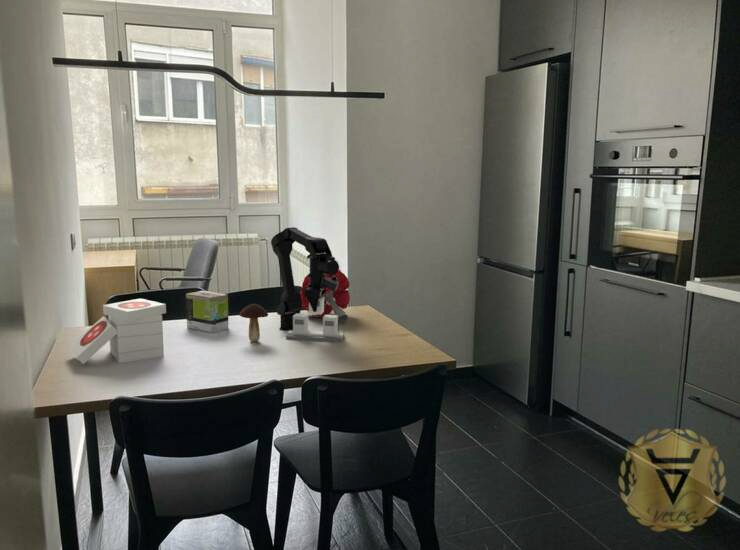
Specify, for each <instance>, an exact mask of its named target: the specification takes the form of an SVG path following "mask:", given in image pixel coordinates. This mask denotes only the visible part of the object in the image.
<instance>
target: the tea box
mask: <svg viewBox="0 0 740 550" xmlns="http://www.w3.org/2000/svg"><path fill="white" fill-rule="evenodd" d="M228 295H229V294H228V293H223V292H222V293H221V292H216V291H215V292H214V291H209V290H199V291H195V292H193V291H192V292H188V293H185V306H186V307H185V310H186V311H185V312H186V313H185V314H186V328H189V329H193V330H198V331H202V332H208V333H212V334H213V333H216V332H219V331H220V332H221V331H223V330H224V331H225V330H226V329H229V296H228Z"/></svg>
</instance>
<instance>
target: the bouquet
mask: <svg viewBox="0 0 740 550" xmlns="http://www.w3.org/2000/svg"><path fill="white" fill-rule="evenodd" d="M334 276H335V277H337V281H339V284H338V287H337V289H336V290H335V291H331V290H330V289H326V288H323V290H327V291H326V292H325V293H324V294H323V296H322V297H324V312H323V313H322V314H315V316H317V317H319V318H320V317H321V318H322V319H323V317H324V316H325V315H331V313H332V312H333V315H338V324H344V323H345V322H347V321H348V319H349V316H348V315H347V313H346V311H345V310H346V309H348V306H349V304H350V300H351V295H350V292H349V290H348V289H349V287H350V281H349V279H348V277H347V275H345V273H343V272H342V271H341V269H339V270H338V272H337V273H336V274H335V275H329V274H326V277H328V278H330V279H331V278H332V277H334ZM309 282H310V277H308V274H307V275H306V276H304V279H303V281H302V284H301V289H300V292H299V293H300V294H301V300H302V308H303V309H304V310H306V311H307V313H309V301H308V299H307V297H305V296H304V291H305V290H306V289H307V288H308V285H309ZM309 288H312V287H309ZM321 318H320V319H321Z"/></svg>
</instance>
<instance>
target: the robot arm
mask: <svg viewBox="0 0 740 550" xmlns="http://www.w3.org/2000/svg"><path fill="white" fill-rule="evenodd" d="M295 242H296V243H297V244H300V245H301V246H302V247H304V249H305V250H306V252H308V253H309V254H308V255H307V256H306V258H307V259H309V272H308V274H307V275H308V277H310V282H309V285H308V288H307V289H306V290H305V291H304V296H305V297H307V299H308V301H309V303H310V305H311V307H312V309H313V312H316V311H317V306H318V300H319V298H320V297H322V296H323V294H324V293H325V292H326V291H327V290H323V288H326V289H330V290H331V291H335V290H336V289H337V287H338V284H339V281H337V277H335V276H334V277H332V278H331V279H330V278H328V277H326V274H329V275H335V274H336V273H337V272H338V270H340V265H339V263H338V261H337V260H336V258H335V256H333V254H332V253H333V252H332V250H331V248H330V246H329V244H328V242H327V240H326V239H325V238H323V237H315V236H311V235H309V234H307V233H305V232H304V231H302V230H301V229H298V228H297V227H295V226H294V227H293V226H292V227H286V228H284V229H283V230H281V231H280V232H279V233H278V232H277V234H275V235H274V236H272V239H271V240H270V245H271V247H272V251H273V253H274V254H275V255H276V256H277V259H278V267H279V272H280V273H279V274H280V279H281V285H282V293H281V295H280V302H279V305H278V306H277V308H276V314H277V315H278V316H280V326H279V328H278V329H279V330H281V331H282V330H283V331H284V330H286V331H289V330H292V331H293V316H294V315H295V314H296V313H300V314H301V311H302V308H303V306H302V300H301V294H300V292H297V290H296V288H295V287H296V286H295V281H294V275H293V266H292V261H291V253H292V250H293V249H294V247H293V244H294V243H295ZM309 287H312V288H309Z"/></svg>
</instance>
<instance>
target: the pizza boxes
mask: <svg viewBox="0 0 740 550" xmlns="http://www.w3.org/2000/svg"><path fill="white" fill-rule="evenodd" d="M166 305H167V304H166V303H163V302H162V303H161V302H158V301H154V300H148V299H146V298H136V299H130V300H125V301H118V302H113V303H112V302H111V303H108V304H102V309H103V310H102V311H103V316H102V317H100V318H99V319H98V320H97V321H96V322H95V323H94V324H93V325H91V326H90V327H89V328H88V329H87V330H86V331H85V332H84V333H83V334H81V336H79V337H78V338H77V339H76V340H75V341H74V342H73V343H71V344H70V345H69V349H70V350H71V352H72V353H73V355H74V357H75V359H77V360H78V361H79V362H80V363H81V364H83V365H85V363H87V361H88V360H90V359H91V358H92V357H93V356H94V355H95V354H96V353H97V352H98V351H100V349H102V348H103V347H104V346H105V345H106V344H107V343H108V342H109V352H110V353H111V354H112V355H113V357H114V358H115V360H116V361H117V362H118V364H120V363H121V364H122V363H128V362H133V361H134V362H135V361H141V360H148V359H153V358H154V359H155V358H161V357H164V355H165V353H164V352H165V351H164V334H163V333H164V332H163V331H164V330H163V329H164V328H163V314H167V306H166ZM104 315H106V316H108V317H107V318H108V319H107V318H106V317H105V316H104Z"/></svg>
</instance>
